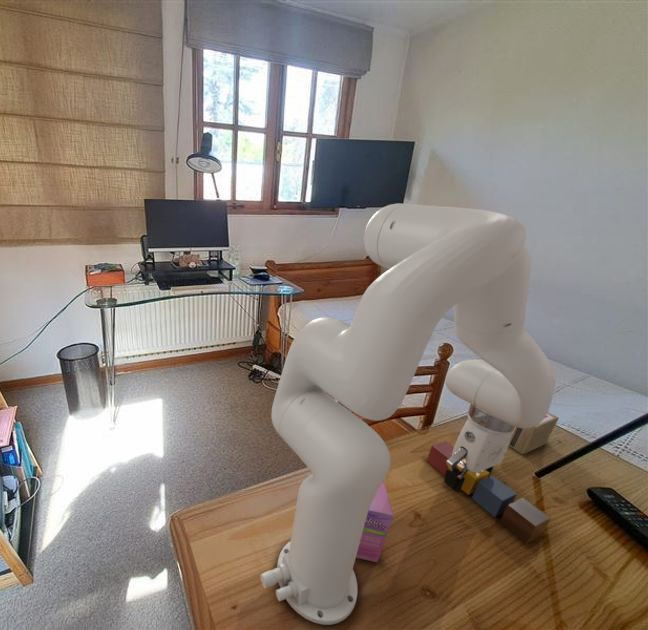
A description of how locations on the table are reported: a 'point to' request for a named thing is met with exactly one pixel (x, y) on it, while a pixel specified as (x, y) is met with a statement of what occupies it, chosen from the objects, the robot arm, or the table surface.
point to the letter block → (472, 479)
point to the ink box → (533, 435)
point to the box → (376, 526)
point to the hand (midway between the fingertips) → (465, 480)
